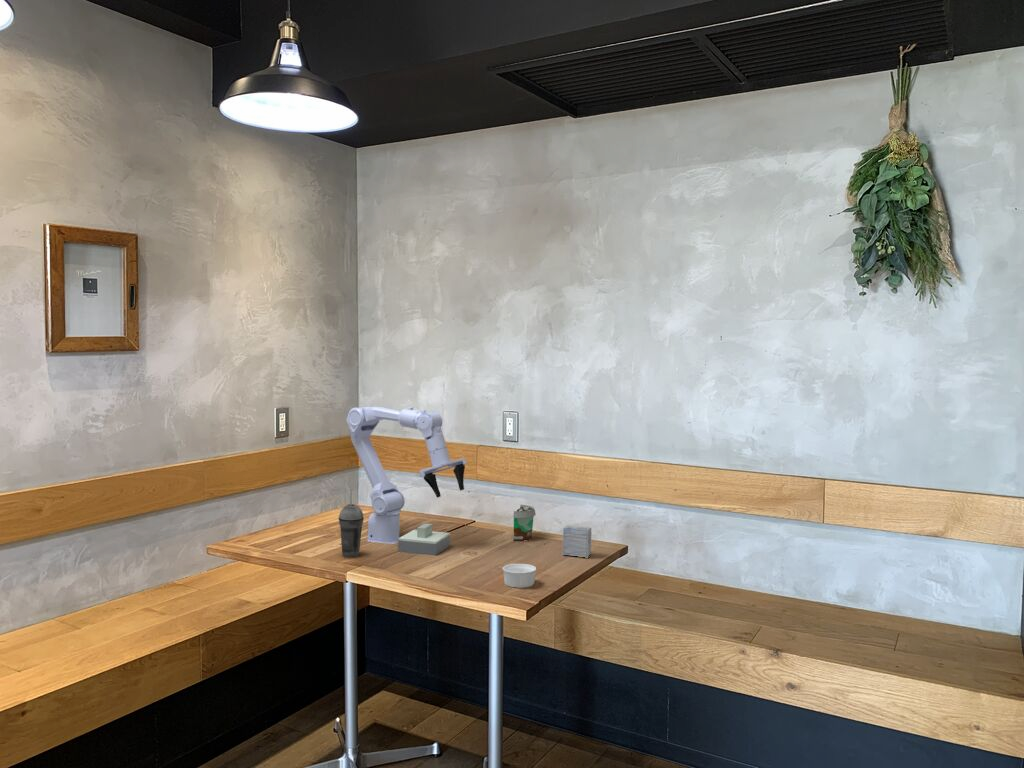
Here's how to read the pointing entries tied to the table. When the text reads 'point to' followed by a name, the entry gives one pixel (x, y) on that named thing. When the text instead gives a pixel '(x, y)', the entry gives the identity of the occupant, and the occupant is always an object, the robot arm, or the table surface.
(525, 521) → the food container
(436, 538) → the lid
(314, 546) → the table surface
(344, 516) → the beverage cup
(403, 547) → the storage box
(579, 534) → the medicine box
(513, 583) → the ramekin
